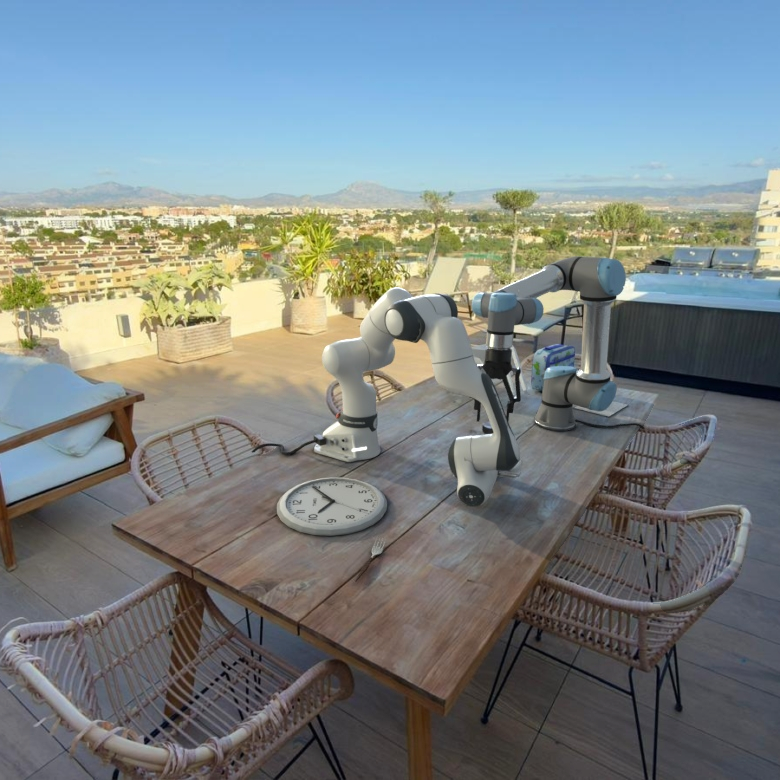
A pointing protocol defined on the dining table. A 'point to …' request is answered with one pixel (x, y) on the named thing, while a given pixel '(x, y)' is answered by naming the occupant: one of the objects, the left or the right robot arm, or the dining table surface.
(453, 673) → the dining table surface
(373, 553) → the fork
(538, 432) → the dining table surface
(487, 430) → the lid
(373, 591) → the dining table surface
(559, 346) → the lunch box
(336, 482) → the wall clock
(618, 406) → the invitation card
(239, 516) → the dining table surface
